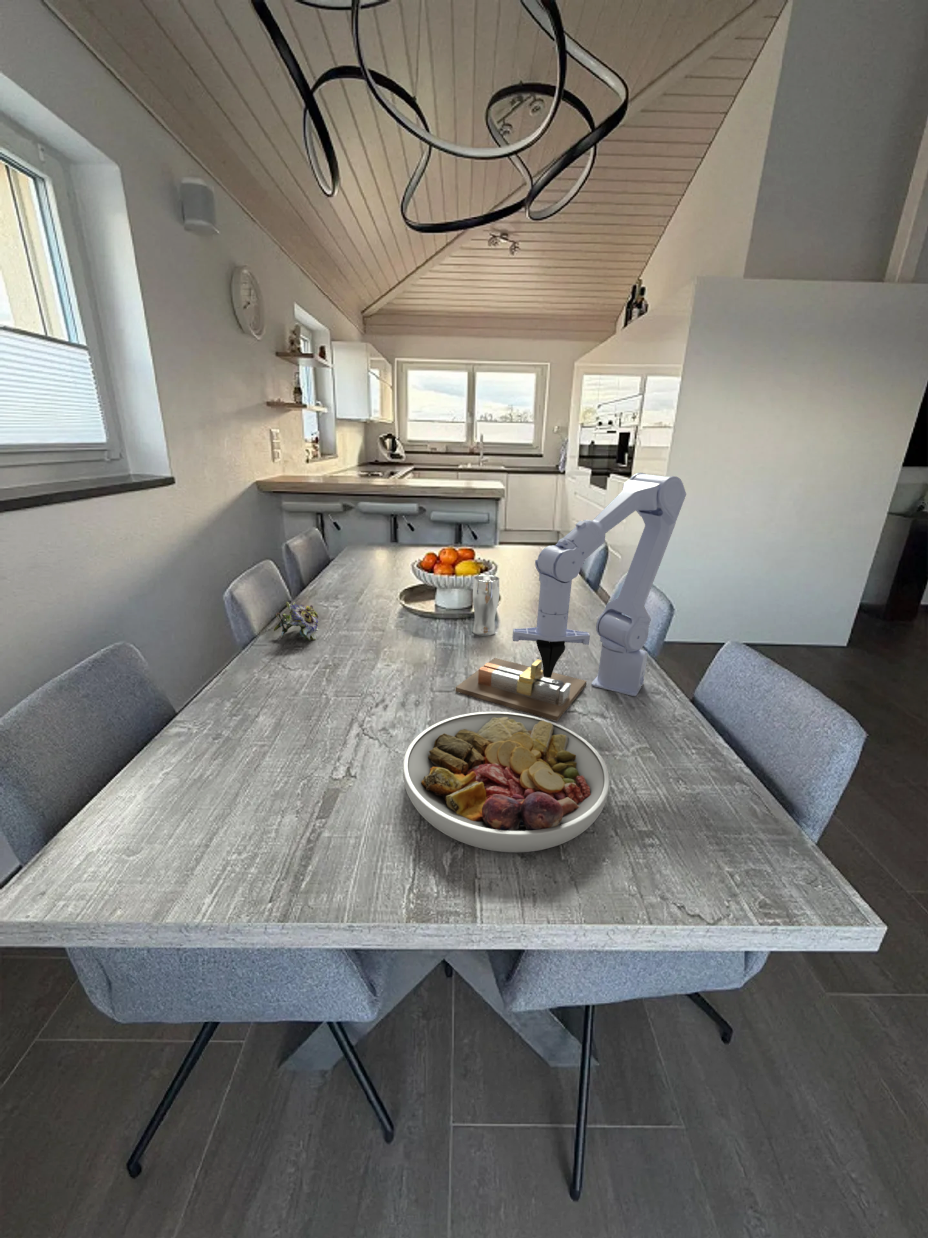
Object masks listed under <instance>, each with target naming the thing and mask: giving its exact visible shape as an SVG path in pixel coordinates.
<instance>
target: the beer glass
mask: <svg viewBox="0 0 928 1238" xmlns="http://www.w3.org/2000/svg"><path fill="white" fill-rule="evenodd" d="M499 601H500V577H498V576H496V575H491V574H480V575H475V576H474V577H473V586H472V606H473V610H474V623H473V628H472V632H473V634H475V635H476V636H480V637H482V636H483V637H489V636H494V635H495V634H496V626H495V625H496V624H495V621H496V613H497V609H498V606H499Z"/></svg>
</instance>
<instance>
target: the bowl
mask: <svg viewBox="0 0 928 1238" xmlns="http://www.w3.org/2000/svg"><path fill="white" fill-rule="evenodd" d="M402 776H403V784H404V788H405V791H406V793H407V796H408V797H409V799H410V802H411V803H412V805H413V806H414V808H415V809H416V810H417V812H418V813H419V814H420V816H421V817H422V818H424V820H426V822H427V823H429V824H430V825H431V826H432V827H434V828H435V829H436V830H438V831H440V832H441V833H443V834H444V835H445V836H448V837H449V838H451V839H453V840H455V841H458V842H461V843H463V844H465V845H469V846H472V847H475V848H478V849H482V850H483V849H484V850H486V851H487V850H488V851H493V852H494V851H495V852H500V853H501V852H503V853H527V852H528V853H530V852H537V851H542V850H546V849H550V848H553V847H557V846H560V845H562V844H565V843H567V842H569V841H571V840H573V839H574V838H576V837H579V836H580V835H581V834H582V833H583V832H585V831H587V829H588V828H590V827H591V826H592V825H593V823H594V822H595V821H596V820H597V819H598V817H599V816H600V814H601V813H602V811H603V809H604V807H605V805H606V802H607V800H608V795H609V790H610V774H609V769H608V767H607V764H606V762H605V760H604V758H603V757H602V756H601V754H600V753H599V752H598V751H597V749H596V748H595V747H594V746H593V745H592V744H591V743H590V742H588V741H587V740H586V739H585V738H584V737H582V736H581V735H580V734H578V733H576V732H574V731H573V730H571V729H569V728H567V727H565V726H563V725H561V724H559V723H556V722H555V721H552V720H551V721H550V720H549V719H546V718H543V717H539V716H535V715H531V714H525V713H524V714H523V713H517V712H510V711H509V712H507V711H479V712H477V711H476V712H470V713H463V714H459V715H455V716H452V717H448V718H445V719H443V720H440V721H438V722H436V723H434V724H432V725H430V726H428V727H426V728H425V729H424V730H423V731H421V732H420V733H419V734H418V735H417V736H415V737H414V738H413V740H412V741H411V742H410V744H409V745H408V747H407V749H406V751H405V753H404V756H403V762H402Z"/></svg>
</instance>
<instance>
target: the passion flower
mask: <svg viewBox="0 0 928 1238" xmlns="http://www.w3.org/2000/svg"><path fill="white" fill-rule="evenodd" d="M285 604H286V606H287V608H288V610H289V614H287V613H283V614H282V617H281V613H280V612H276V613H275V617H276V619H278V621H279V623H278V624H276V626H275V627H274V629H273V632H275V631H277V630H278V629H280V628H281V629H282V630H281V634H280V635H281V637H280V639H281V640H282V639H283V637H284V635H285V634H287V632H288V631H289V629H291V627H295V626H296V627H299V628H300V630H299V635H300V636H301V637H302V638H303V637H304V639H305V640H307V641H309V642H310V641H315V640H317V636H316V632H318V631H319V628H318V625H319V620H318V618H319V616H318V614H319V613H317V611H315V608H314V606H313V604H311V605H310V606H309V605H306V606H305V605H303V604H296V602H295V601H294V602H292V604H290V602H288V601H285ZM285 625H286V626H285Z"/></svg>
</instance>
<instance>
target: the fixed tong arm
mask: <svg viewBox="0 0 928 1238" xmlns="http://www.w3.org/2000/svg"><path fill="white" fill-rule="evenodd" d="M483 666H484V665H483ZM483 666H481V667H480V668H479V669H478V670H479V675H478V683H479V684H483V685H487V686H490V687H494V688H497V689H501V690H505V691H508V692H512V693H515V694H519V695H522V696H526V697H530V698H533V699H537V700H540V701H544V702H547V703H551V704H556V703H557V702H558V697H559V702H558V706H563V705H564V704H565V702H566V701H567V700H568V699H569V695H570V687H571V683H566V684H565V685H564V686H563V688H562V689H561V690H560V693H559V688H560V687H559V686H555V685H551V684H547V683H543V682H540V681H535V682H534V683H533V686H532V695H531V696H528V695H524V694H521V693H517V681H518V680H519V676H517V675H513V674H509V673H505V672H502V671H498V670H494V669H491V668H487V667H483Z"/></svg>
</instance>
